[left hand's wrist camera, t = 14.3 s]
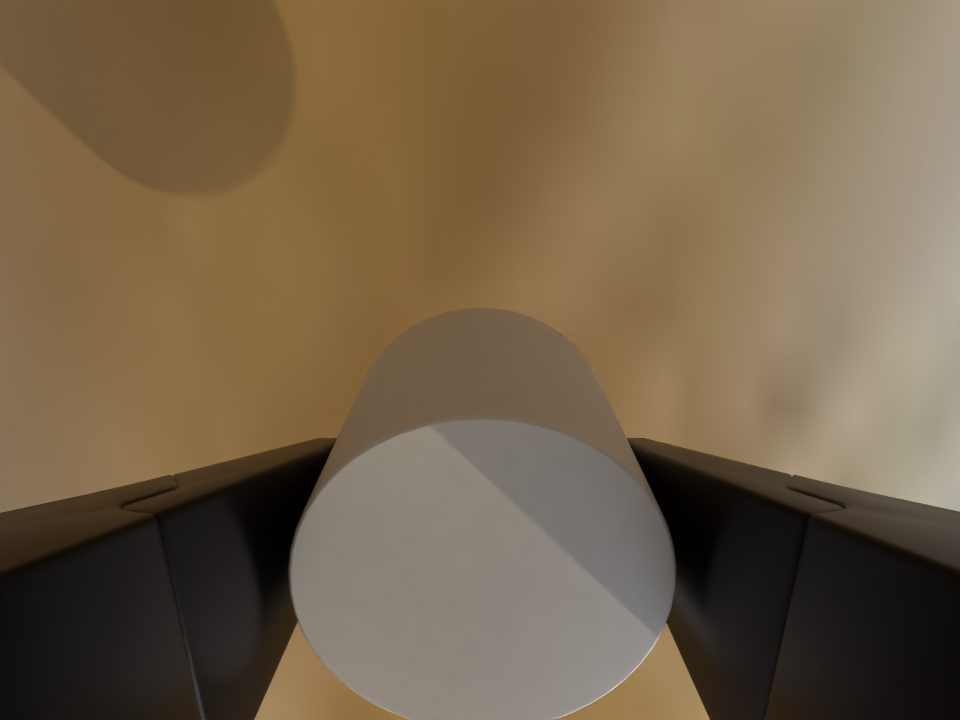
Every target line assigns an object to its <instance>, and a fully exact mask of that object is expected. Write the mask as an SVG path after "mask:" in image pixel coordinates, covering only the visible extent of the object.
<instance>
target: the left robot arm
mask: <svg viewBox="0 0 960 720" xmlns="http://www.w3.org/2000/svg"><path fill="white" fill-rule="evenodd" d="M336 440H337V438H318V439H314V440H310V441H306V442H302V443H298V444H294V445H290V446H286V447H282V448H278V449H274V450H270V451H266V452H262V453H258V454H254V455H250V456H246V457H242V458H238V459H234V460H230V461H226V462H222V463H218V464H214V465H210V466H206V467H202V468H198V469H194V470H190V471H186V472H182V473H178V474H175V475H173V477H172V476H171V475H167V476H163V477H159V478H155V479H151V480H147V481H142V482H138V483H134V484H130V485H126V486H122V487H117V488H113V489H108V490H104V491H100V492H95V493H91V494H86V495H82V496H77V497H72V498H68V499H63V500H58V501H54V502H49V503H44V504H40V505H35V506H30V507H26V508H21V509H17V510H12V511H7V512H3V513H0V720H254V719H255V717H256V714H257V712H258V710H259V708H260V705H261V703H262V701H263V699H264V696H265V694H266V692H267V689H268V687H269V685H270V683H271V680H272V678H273V676H274V674H275V671H276V669H277V667H278V665H279V662H280V660H281V658H282V656H283V653H284V651H285V649H286V647H287V644H288V642H289V640H290V638H291V635H292V633H293V631H294V628H295V626H296V624H297V622H298V620H297V617H296V615H295V612H294V608H293V603H292V599H291V594H290V588H289V572H288V568H289V558H290V548H291V545H292V541H293V537H294V534H295V530H296V527H297V525H298V522H299V520H300V518H301V516H302V513H303V511H304V509H305V507H306V505H307V503H308V500H309V498H310V496H311V494H312V492H313V490H314V487H315V485H316V483H317V481H318V479H319V477H320V474H321V472H322V470H323V468H324V466H325V464H326V461H327V459H328V457H329V455H330V453H331V451H332V449H333V446H334V444H335V442H336ZM627 440H628V442H629V445H630V447H631V449H632V451H633V453H634V455H635V457H636V459H637V461H638V463H639V466H640V468H641V470H642V472H643V474H644V476H645V478H646V480H647V482H648V484H649V487H650V489H651V491H652V493H653V495H654V497H655V499H656V501H657V503H658V505H659V508H660V510H661V512H662V514H663V516H664V518H665V520H666V522H667V525H668V528H669V531H670V535H671V538H672V542H673V545H674V552H675V561H676V583H675V592H674V597H673V601H672V606H671V610H670V613H669V616H668V618H667V621H666V622H667V625H668V627H669V629H670V631H671V634H672V636H673V638H674V640H675V643H676V645H677V647H678V649H679V651H680V654H681V656H682V658H683V660H684V663H685V665H686V667H687V669H688V672H689V674H690V676H691V678H692V680H693V683H694V685H695V687H696V689H697V692H698V694H699V696H700V698H701V700H702V703H703V705H704V707H705V709H706V712H707V714H708V716H709V718H710V720H960V512H959V511H954V510H949V509H944V508H940V507H935V506H930V505H926V504H921V503H916V502H912V501H907V500H902V499H897V498H893V497H888V496H883V495H879V494H874V493H870V492H865V491H861V490H856V489H852V488H848V487H843V486H839V485H835V484H831V483H826V482H822V481H818V480H814V479H810V478H806V477H801V476H797V475H793V476H791V475H790V474H786V473H782V472H778V471H774V470H770V469H766V468H762V467H758V466H754V465H750V464H746V463H742V462H738V461H734V460H730V459H726V458H722V457H718V456H714V455H710V454H706V453H702V452H698V451H694V450H690V449H686V448H682V447H678V446H674V445H670V444H666V443H661V442H657V441H653V440H649V439H645V438H627Z"/></svg>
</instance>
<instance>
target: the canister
mask: <svg viewBox="0 0 960 720" xmlns="http://www.w3.org/2000/svg"><path fill="white" fill-rule="evenodd" d="M288 572H289V588H290V594H291V599H292V603H293V608H294V612H295V615H296V617H297V620H298V622H299V625H300V627H301V630H302V632H303V634H304V636H305V637H306V639H307V641H308V643H309V644H310V646H311V648H312V649H313V651H314V652H315V653H316V655H317V656H318V657H319V658H320V660H321V661H322V662H323V664H324V665H325V666H326V667H327V668H328V669H329V670H330V671H331V672H332V673H333V674H334V675H335V676H336V677H337V678H338V679H339V680H340V681H341V682H343V683H344V684H345V685H347V686H348V687H349V688H350V689H352V690H353V691H354V692H356V693H357V694H358V695H360V696H362V697H363V698H365V699H367V700H368V701H370V702H372V703H373V704H375V705H377V706H379V707H381V708H383V709H385V710H388V711H390V712H392V713H394V714H396V715H399V716H402V717H405V718H408V719H411V720H554V719H556V718H559V717H562V716H565V715H567V714H570V713H573V712H575V711H577V710H579V709H581V708H583V707H585V706H587V705H589V704H591V703H593V702H594V701H596V700H598V699H599V698H601V697H602V696H604V695H606V694H607V693H609V692H610V691H611V690H613V689H614V688H615V687H616V686H618V685H619V684H620V683H621V682H623V681H624V680H625V679H626V678H627V677H628V676H629V675H630V674H631V673H632V672H633V671H634V670H635V669H636V668H637V667H638V666H639V665H640V664H641V663H642V662H643V660H644V659H645V658H646V656H647V655H648V654H649V652H650V651H651V650H652V648H653V647H654V645H655V643H656V642H657V640H658V638H659V636H660V634H661V633H662V631H663V629H664V626H665V624H666V621H667V618H668V616H669V613H670V610H671V606H672V601H673V597H674V592H675V583H676V561H675V552H674V545H673V542H672V538H671V535H670V531H669V528H668V525H667V522H666V520H665V518H664V516H663V514H662V512H661V510H660V508H659V505H658V503H657V501H656V499H655V497H654V495H653V493H652V491H651V489H650V487H649V484H648V482H647V480H646V478H645V476H644V474H643V472H642V470H641V468H640V466H639V463H638V461H637V459H636V457H635V455H634V453H633V451H632V449H631V447H630V445H629V442H628V440H627V438H626V436H625V434H624V432H623V430H622V428H621V426H620V424H619V422H618V419H617V417H616V415H615V413H614V411H613V409H612V407H611V405H610V403H609V401H608V398H607V396H606V394H605V392H604V390H603V388H602V386H601V384H600V382H599V380H598V377H597V375H596V373H595V371H594V369H593V368H592V366H591V365H590V363H589V362H588V360H587V359H586V357H585V356H584V355H583V354H582V353H581V352H580V350H579V349H578V348H577V347H576V346H575V345H574V344H573V343H572V342H571V341H570V340H568V339H567V338H566V337H565V336H564V335H562V334H561V333H560V332H558V331H556V330H555V329H553V328H552V327H550V326H549V325H547V324H545V323H543V322H541V321H538V320H536V319H534V318H532V317H529V316H526V315H523V314H520V313H517V312H512V311H506V310H501V309H490V308H473V309H462V310H457V311H452V312H447V313H443V314H440V315H437V316H434V317H431V318H429V319H427V320H425V321H422V322H420V323H418V324H416V325H414V326H413V327H411V328H410V329H408V330H407V331H405V332H404V333H402V334H401V335H399V336H398V337H397V338H396V339H395V340H394V341H392V342H391V343H390V344H389V345H388V346H387V347H386V348H385V349H384V350H383V352H382V353H381V354H380V355H379V356H378V357H377V359H376V360H375V362H374V363H373V365H372V366H371V368H370V370H369V371H368V373H367V375H366V377H365V379H364V382H363V384H362V386H361V388H360V390H359V392H358V395H357V397H356V399H355V401H354V403H353V405H352V408H351V410H350V412H349V414H348V416H347V418H346V420H345V423H344V425H343V427H342V429H341V431H340V433H339V436H338V438H337V440H336V442H335V444H334V446H333V449H332V451H331V453H330V455H329V457H328V459H327V461H326V464H325V466H324V468H323V470H322V472H321V474H320V477H319V479H318V481H317V483H316V485H315V487H314V490H313V492H312V494H311V496H310V498H309V500H308V503H307V505H306V507H305V509H304V511H303V513H302V516H301V518H300V520H299V522H298V525H297V527H296V530H295V534H294V537H293V541H292V545H291V548H290V558H289V568H288Z"/></svg>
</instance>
